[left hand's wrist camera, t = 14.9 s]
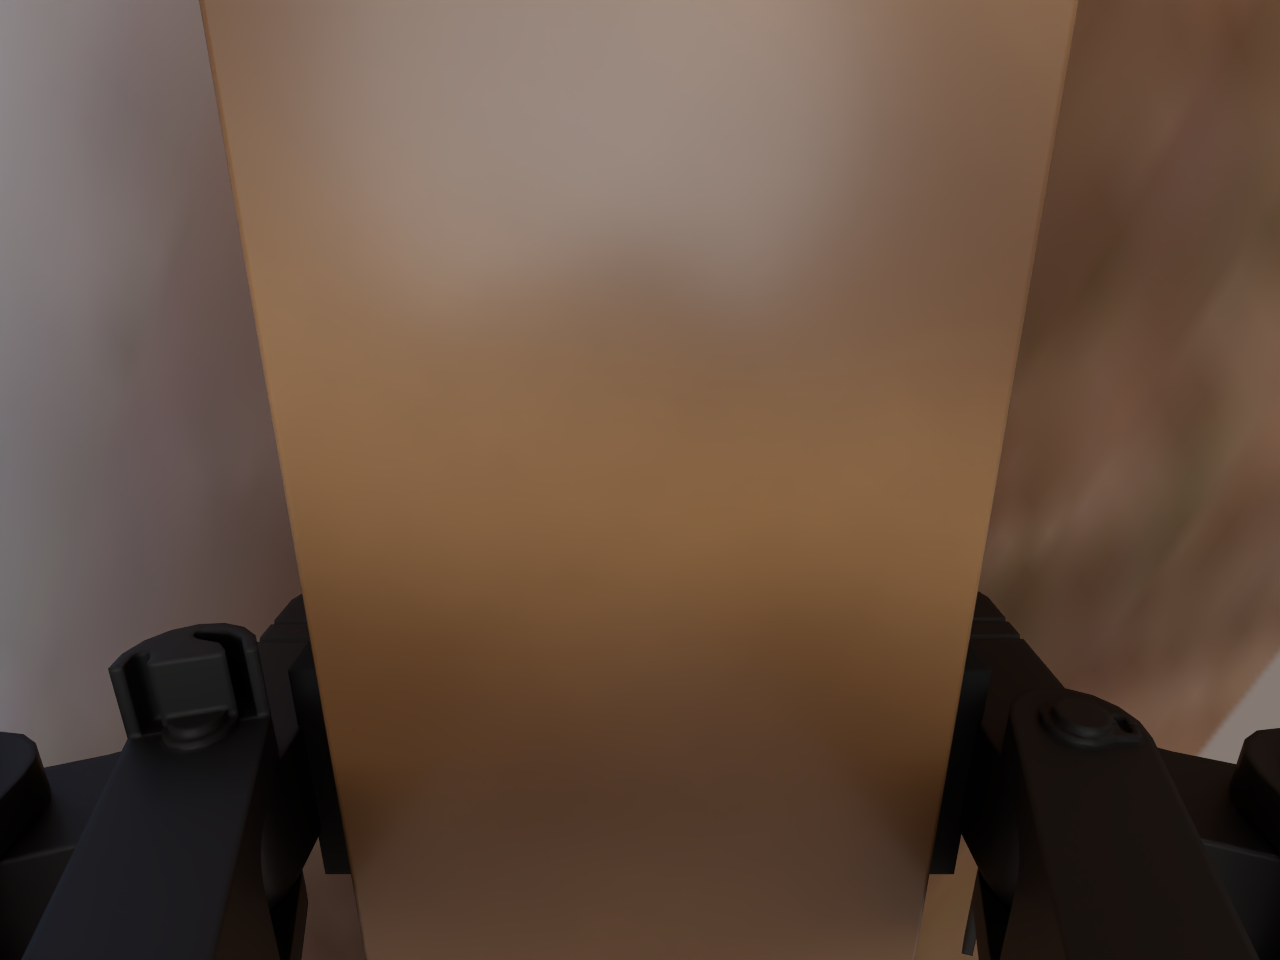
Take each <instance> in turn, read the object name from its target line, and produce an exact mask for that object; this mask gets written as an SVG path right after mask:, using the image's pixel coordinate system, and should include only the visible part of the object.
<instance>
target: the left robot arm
mask: <svg viewBox="0 0 1280 960" xmlns="http://www.w3.org/2000/svg"><path fill="white" fill-rule="evenodd" d="M274 621H275V623H274V625H270V626H269V628H268V629H267V630H266V631H265V632H264V634H263V635H262V636H261V637H260V642H257V641H256V636H255V635H254V634H253V633H252V632H250V631H249V630H248V629H246V628H245V627H242V626H237V625H231V624H226V623H216V624H198V625H193V626H189V627H184V628H179V629H175V630H171V631H168V632H165V633H163V634H160V635H158V636H155V637H152V638H150V639H147V640H144V641H143V642H141V643H139V644H138V645H136V646H135V647H133V648H131V649H130V650H128V651H126V652H125V653H123V654H122V655H121V656H120V657H119V658H118V659H117V660H116V661H115V662H114V663H113V664H112V665H111V666H110V667H109V668H108V670H109V674H110V677H111V681H112V684H113V688H114V692H115V695H116V699H117V702H118V706H119V709H120V713H121V716H122V720H123V723H124V727H125V731H126V734H127V738H128V739H127V741H126V744H125V746H124V748H123V750H122V751H121V752H117V753H113V754H110V755H105V756H100V757H95V758H90V759H85V760H80V761H75V762H70V763H66V764H61V765H56V766H51V767H46V768H44V767H43V764H42V761H41V758H40V755H39V752H38V749H37V746H36V743H35V742H33V741H32V740H31V739H29V738H28V737H26V736H25V735H24V734H16V733H7V732H0V960H301V958H302V950H303V942H304V933H305V925H306V917H307V908H308V898H307V892H306V885H305V880H304V875H303V870H302V869H303V867H304V865H305V863H306V861H307V859H308V857H309V855H310V853H311V851H312V849H313V847H314V845H315V843H316V841H317V838H318V836H319V841H320V847H321V852H322V857H323V863H324V868H325V874H351V870H350V865H349V859H348V853H347V847H346V842H345V836H344V830H343V824H342V819H341V813H340V807H339V801H338V796H337V790H336V784H335V778H334V773H333V767H332V761H331V756H330V750H329V744H328V738H327V733H326V727H325V721H324V715H323V710H322V704H321V698H320V692H319V687H318V681H317V675H316V669H315V664H314V658H313V652H312V646H311V641H310V635H309V629H308V623H307V618H306V612H305V606H304V600H303V595H302V594H301V595H299V596H297V597H296V598H294V599H293V600H291V601H290V603H289V604H288V605H287V606H286V607H285V609H284V610H283V611H282V612H281V613H280V615H279V616H278V617H277V618H276V619H275V620H274ZM961 834H962V836H963V838H964V840H965V842H966V844H967V846H968V848H969V850H970V852H971V854H972V856H973V858H974V860H975V862H976V864H977V866H978V870H977V875H976V880H975V885H974V890H973V895H972V900H971V905H970V910H969V915H968V920H967V925H966V930H965V935H964V942H963V948H962V954H966V955H971V956H973V951H974V946H975V942H976V940H977V948H978V956H979V960H1280V728H1276V729H1267V730H1258V731H1256V732H1254V733H1253V734H1252V735H1250V736H1249V737H1247V738H1246V739H1245V740H1244V743H1243V746H1242V749H1241V752H1240V756H1239V758H1238V761H1237V764H1232V763H1227V762H1222V761H1217V760H1212V759H1207V758H1202V757H1197V756H1192V755H1187V754H1182V753H1177V752H1172V751H1168V750H1164V749H1161V748H1157V746H1156V744H1155V742H1154V740H1153V738H1152V737H1151V735H1150V734H1149V733H1148V732H1147V730H1146V729H1145V728H1144V727H1143V725H1142V724H1141V723H1140V722H1139V721H1138V720H1137V719H1135V718H1134V717H1132V716H1131V715H1130V714H1128V713H1127V712H1125V711H1124V710H1122V709H1121V708H1120V707H1118V706H1116V705H1114V704H1111V703H1109V702H1107V701H1105V700H1102V699H1100V698H1098V697H1096V696H1093V695H1090V694H1086V693H1082V692H1078V691H1074V690H1070V689H1065V688H1064V686H1063V685H1062V684H1061V683H1060V682H1059V681H1058V679H1057V678H1056V677H1055V676H1054V675H1053V673H1052V672H1051V671H1050V670H1049V669H1048V668H1047V666H1046V665H1045V664H1044V663H1043V662H1042V660H1041V659H1040V658H1039V657H1038V656H1037V655H1036V653H1035V652H1034V651H1033V650H1032V649H1031V648H1030V646H1029V645H1028V644H1027V643H1026V642H1025V640H1024V639H1020V635H1019V633H1018V632H1017V631H1016V630H1015V629H1014V627H1013V626H1012V625H1011V624H1010V623H1009V622H1006V621H1005V617H1004V616H1003V614H1002V613H1001V612H1000V611H999V610H998V609H997V607H996V606H995V605H994V604H993V603H992V601H991V600H990V599H989V598H988V597H987V596H985V595H983V594H982V593H980V592H977V598H976V604H975V610H974V615H973V621H972V627H971V633H970V639H969V645H968V651H967V656H966V662H965V668H964V674H963V680H962V686H961V691H960V697H959V703H958V709H957V715H956V721H955V726H954V732H953V738H952V744H951V750H950V756H949V762H948V767H947V773H946V779H945V785H944V791H943V797H942V802H941V808H940V814H939V820H938V826H937V832H936V837H935V843H934V849H933V855H932V861H931V867H930V873H929V874H954V870H955V865H956V860H957V854H958V849H959V843H960V838H961Z"/></svg>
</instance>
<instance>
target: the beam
mask: <svg viewBox="0 0 1280 960" xmlns="http://www.w3.org/2000/svg"><path fill="white" fill-rule="evenodd" d="M1078 2H1079V0H199V3H200V9H201V15H202V20H203V26H204V32H205V38H206V43H207V49H208V55H209V61H210V66H211V72H212V78H213V84H214V89H215V95H216V101H217V107H218V112H219V118H220V124H221V130H222V135H223V141H224V147H225V152H226V158H227V164H228V170H229V175H230V181H231V187H232V193H233V198H234V204H235V210H236V216H237V221H238V227H239V233H240V239H241V244H242V250H243V256H244V262H245V267H246V273H247V279H248V285H249V290H250V296H251V302H252V308H253V313H254V319H255V325H256V331H257V336H258V342H259V348H260V353H261V359H262V365H263V371H264V376H265V382H266V388H267V394H268V399H269V405H270V411H271V417H272V422H273V428H274V434H275V440H276V445H277V451H278V457H279V463H280V468H281V474H282V480H283V486H284V491H285V497H286V503H287V509H288V514H289V520H290V526H291V532H292V537H293V543H294V549H295V555H296V560H297V566H298V572H299V577H300V583H301V589H302V595H303V600H304V606H305V612H306V618H307V623H308V629H309V635H310V641H311V646H312V652H313V658H314V664H315V669H316V675H317V681H318V687H319V692H320V698H321V704H322V710H323V715H324V721H325V727H326V733H327V738H328V744H329V750H330V756H331V761H332V767H333V773H334V778H335V784H336V790H337V796H338V801H339V807H340V813H341V819H342V824H343V830H344V836H345V842H346V847H347V853H348V859H349V865H350V870H351V876H352V882H353V888H354V893H355V899H356V905H357V911H358V916H359V922H360V928H361V934H362V939H363V945H364V951H365V957H366V960H915V954H916V949H917V943H918V937H919V931H920V925H921V919H922V913H923V908H924V902H925V896H926V890H927V884H928V878H929V873H930V867H931V861H932V855H933V849H934V843H935V837H936V832H937V826H938V820H939V814H940V808H941V802H942V797H943V791H944V785H945V779H946V773H947V767H948V762H949V756H950V750H951V744H952V738H953V732H954V726H955V721H956V715H957V709H958V703H959V697H960V691H961V686H962V680H963V674H964V668H965V662H966V656H967V651H968V645H969V639H970V633H971V627H972V621H973V615H974V610H975V604H976V598H977V592H978V586H979V580H980V575H981V569H982V563H983V557H984V551H985V545H986V540H987V534H988V528H989V522H990V516H991V510H992V504H993V499H994V493H995V487H996V481H997V475H998V469H999V464H1000V458H1001V452H1002V446H1003V440H1004V434H1005V429H1006V423H1007V417H1008V411H1009V405H1010V399H1011V393H1012V388H1013V382H1014V376H1015V370H1016V364H1017V358H1018V353H1019V347H1020V341H1021V335H1022V329H1023V323H1024V318H1025V312H1026V306H1027V300H1028V294H1029V288H1030V282H1031V277H1032V271H1033V265H1034V259H1035V253H1036V247H1037V242H1038V236H1039V230H1040V224H1041V218H1042V212H1043V207H1044V201H1045V195H1046V189H1047V183H1048V177H1049V171H1050V166H1051V160H1052V154H1053V148H1054V142H1055V136H1056V131H1057V125H1058V119H1059V113H1060V107H1061V101H1062V96H1063V90H1064V84H1065V78H1066V72H1067V66H1068V60H1069V55H1070V49H1071V43H1072V37H1073V31H1074V25H1075V20H1076V14H1077V8H1078Z"/></svg>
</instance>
